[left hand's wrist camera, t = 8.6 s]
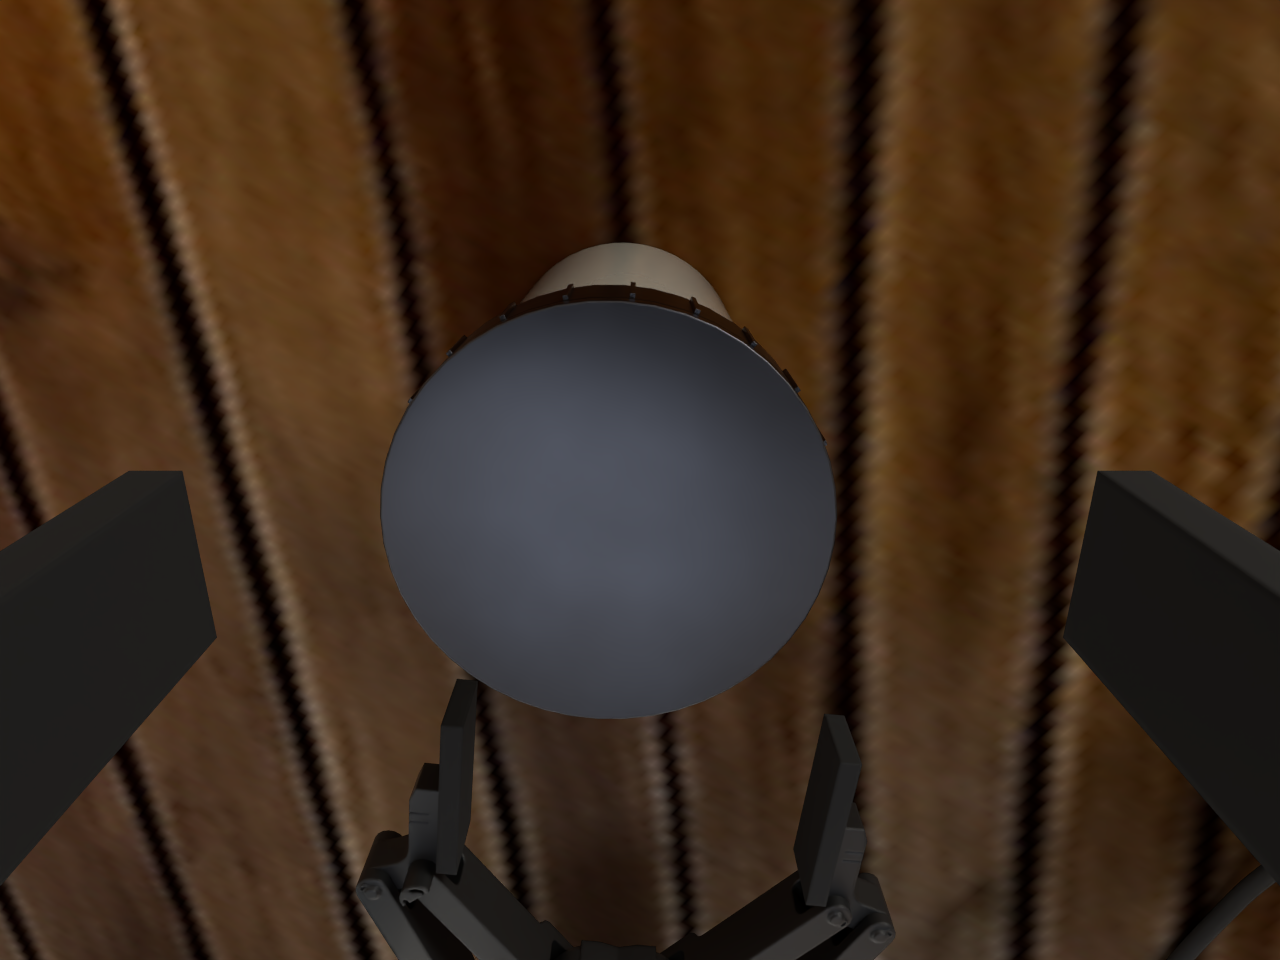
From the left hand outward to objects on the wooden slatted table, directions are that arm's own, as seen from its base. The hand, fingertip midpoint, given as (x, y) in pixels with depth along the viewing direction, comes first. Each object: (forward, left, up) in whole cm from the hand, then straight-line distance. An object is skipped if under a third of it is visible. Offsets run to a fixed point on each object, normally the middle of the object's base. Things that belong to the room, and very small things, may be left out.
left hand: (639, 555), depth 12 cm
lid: (-2, +1, -5) cm, 5 cm away
